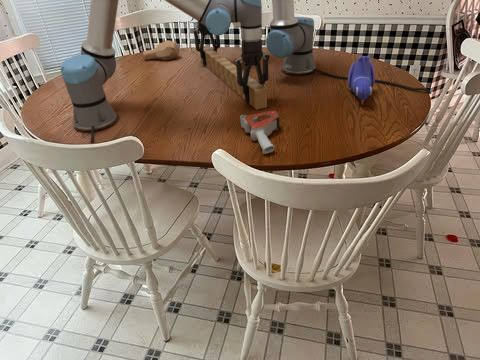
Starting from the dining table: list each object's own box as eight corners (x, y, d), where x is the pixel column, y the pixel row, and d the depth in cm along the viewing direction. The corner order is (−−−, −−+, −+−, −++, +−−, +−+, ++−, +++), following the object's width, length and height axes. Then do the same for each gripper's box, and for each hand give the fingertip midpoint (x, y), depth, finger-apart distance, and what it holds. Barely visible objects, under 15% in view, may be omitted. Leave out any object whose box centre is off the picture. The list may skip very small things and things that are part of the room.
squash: (180, 60, 189) (175, 44, 182) (144, 67, 191) (138, 52, 184) (182, 51, 196) (177, 35, 190) (147, 58, 198) (141, 42, 192)
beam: (267, 107, 136) (267, 88, 132) (256, 109, 135) (255, 91, 131) (209, 60, 187) (207, 45, 182) (201, 61, 185) (199, 47, 181)
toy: (345, 95, 151) (349, 109, 128) (348, 53, 144) (352, 60, 122) (370, 95, 149) (378, 108, 126) (374, 52, 142) (383, 59, 120)
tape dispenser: (269, 161, 108) (297, 129, 121) (269, 147, 105) (298, 115, 117) (221, 145, 116) (252, 116, 128) (220, 131, 112) (252, 103, 125)
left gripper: (268, 33, 133) (269, 92, 146) (224, 40, 127) (229, 101, 141) (278, 37, 127) (277, 98, 141) (232, 45, 122) (236, 108, 135)
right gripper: (219, 10, 172) (223, 58, 186) (184, 15, 167) (190, 64, 181) (225, 12, 166) (228, 62, 180) (188, 18, 161) (195, 69, 175)
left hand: (253, 100), depth 141 cm, fingers closed on beam, 5 cm apart
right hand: (209, 63), depth 180 cm, fingers closed on beam, 5 cm apart
